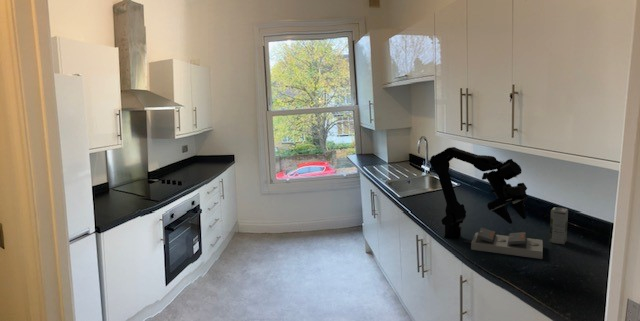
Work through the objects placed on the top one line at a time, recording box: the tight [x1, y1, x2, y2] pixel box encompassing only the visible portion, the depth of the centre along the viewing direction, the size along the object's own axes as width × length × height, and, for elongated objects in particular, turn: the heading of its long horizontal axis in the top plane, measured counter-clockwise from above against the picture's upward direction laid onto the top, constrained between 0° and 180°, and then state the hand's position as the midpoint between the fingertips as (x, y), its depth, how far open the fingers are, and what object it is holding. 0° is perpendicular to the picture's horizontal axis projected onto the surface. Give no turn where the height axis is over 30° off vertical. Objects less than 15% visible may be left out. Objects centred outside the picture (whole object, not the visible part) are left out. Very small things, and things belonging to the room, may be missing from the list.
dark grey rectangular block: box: [477, 227, 496, 242], centre depth 161 cm, size 6×11×1 cm, turn 150°
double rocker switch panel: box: [463, 232, 544, 260], centre depth 159 cm, size 30×14×3 cm, turn 60°
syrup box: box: [548, 206, 569, 245], centre depth 161 cm, size 6×6×14 cm
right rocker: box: [508, 231, 527, 244], centre depth 156 cm, size 6×11×1 cm, turn 150°
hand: (518, 221), depth 146 cm, fingers open, 9 cm apart
